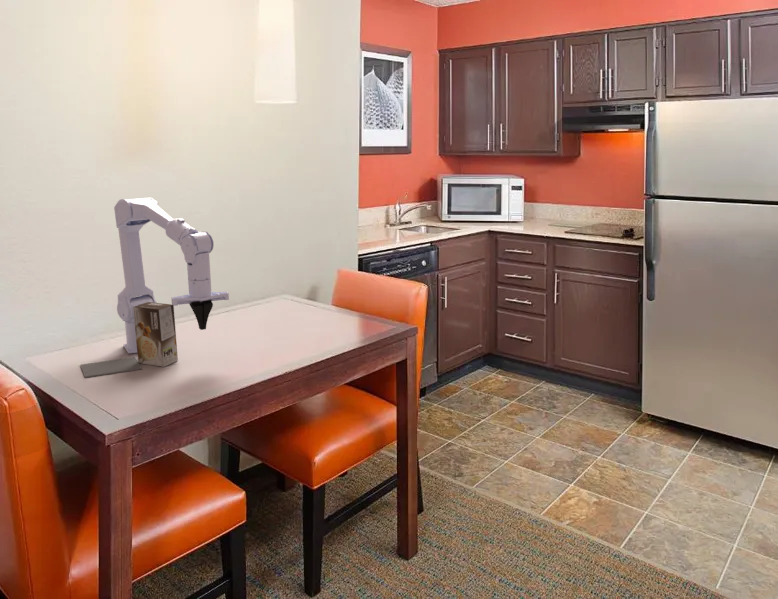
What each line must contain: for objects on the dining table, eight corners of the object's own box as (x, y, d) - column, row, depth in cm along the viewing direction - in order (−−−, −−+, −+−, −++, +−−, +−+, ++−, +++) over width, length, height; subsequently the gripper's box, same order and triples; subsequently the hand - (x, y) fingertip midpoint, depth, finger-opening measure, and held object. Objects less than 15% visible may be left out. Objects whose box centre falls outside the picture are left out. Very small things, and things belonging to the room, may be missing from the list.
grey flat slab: (80, 366, 184) (80, 364, 184) (134, 358, 191) (134, 356, 191) (85, 378, 175) (84, 376, 175) (142, 369, 182) (142, 367, 182)
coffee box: (179, 360, 189) (175, 304, 186) (163, 367, 183) (159, 309, 180) (152, 356, 192) (148, 301, 189) (136, 363, 187) (131, 306, 183)
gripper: (174, 284, 172) (178, 335, 175) (230, 278, 179) (233, 328, 182) (168, 279, 178) (172, 329, 181) (223, 274, 185) (226, 322, 188)
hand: (202, 328), depth 182 cm, fingers closed
